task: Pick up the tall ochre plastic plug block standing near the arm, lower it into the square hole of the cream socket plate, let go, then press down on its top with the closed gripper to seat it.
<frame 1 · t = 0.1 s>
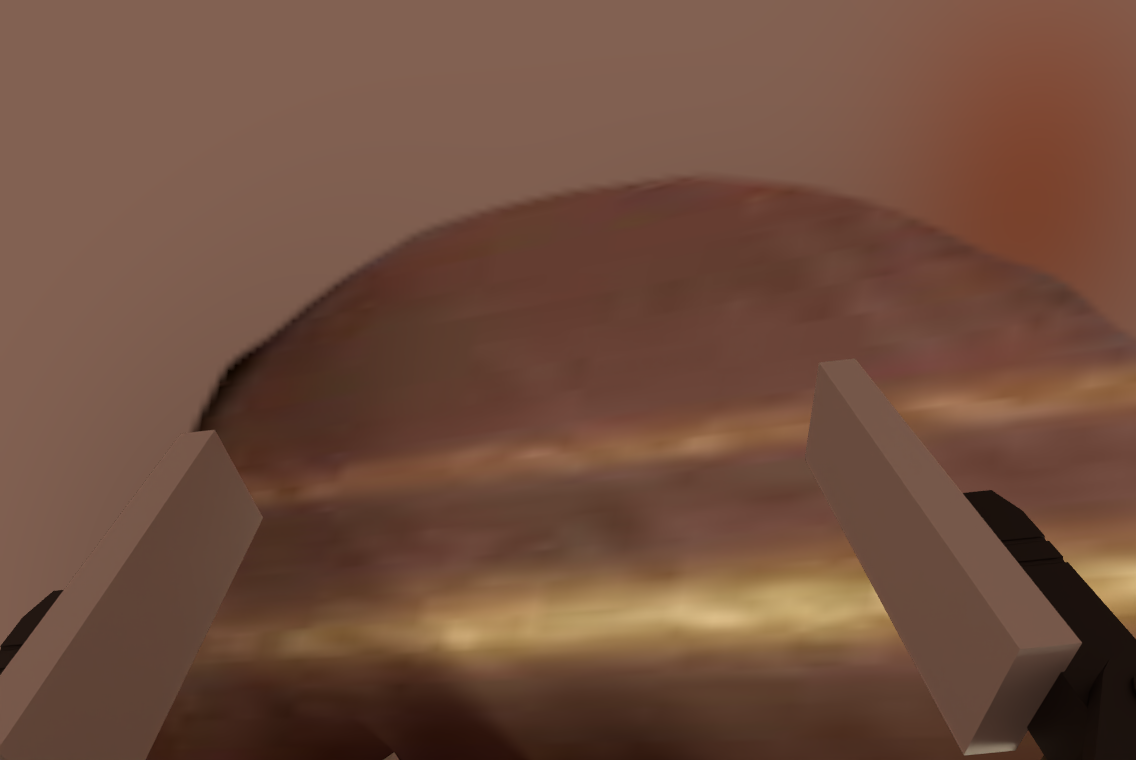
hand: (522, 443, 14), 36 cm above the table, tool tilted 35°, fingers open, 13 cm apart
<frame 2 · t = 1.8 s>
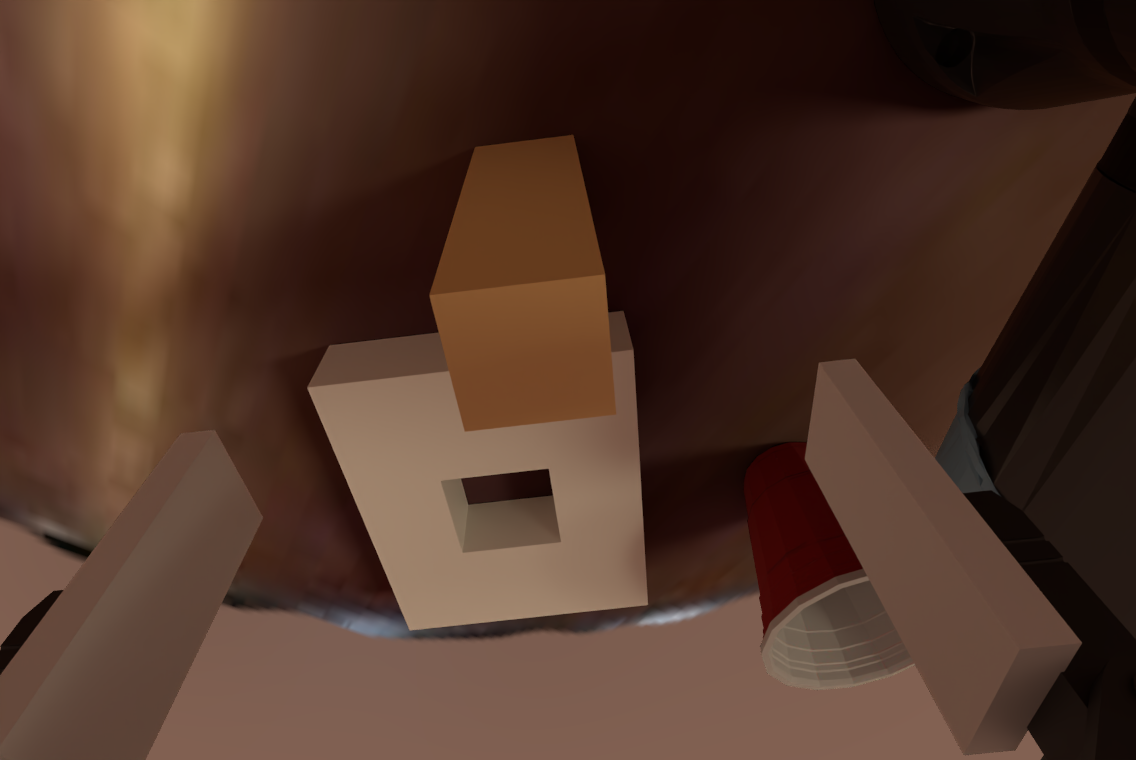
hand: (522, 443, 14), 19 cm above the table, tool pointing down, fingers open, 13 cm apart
plug block: (531, 190, 29), on the table
socket plate: (505, 465, 39), on the table
plastic cup: (788, 473, 41), on the table
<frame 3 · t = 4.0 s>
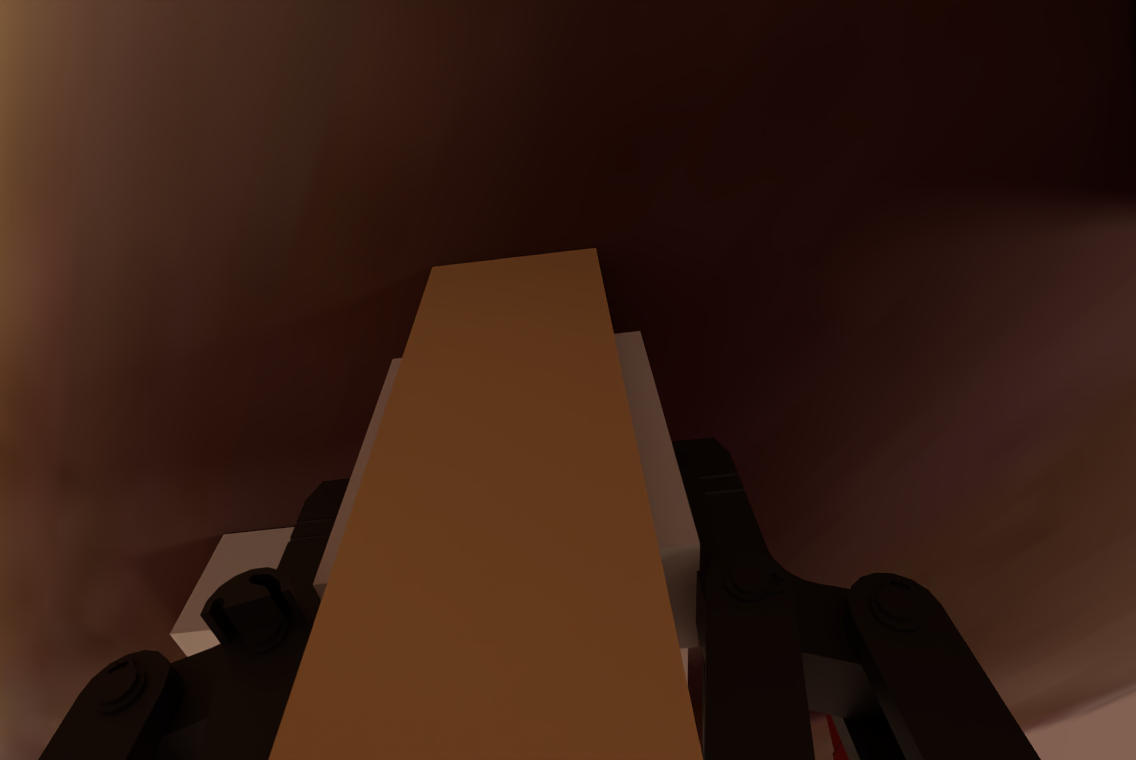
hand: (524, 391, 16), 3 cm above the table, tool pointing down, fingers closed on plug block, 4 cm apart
plug block: (525, 328, 18), on the table, touching gripper
socket plate: (491, 667, 28), on the table
plastic cup: (880, 667, 30), on the table
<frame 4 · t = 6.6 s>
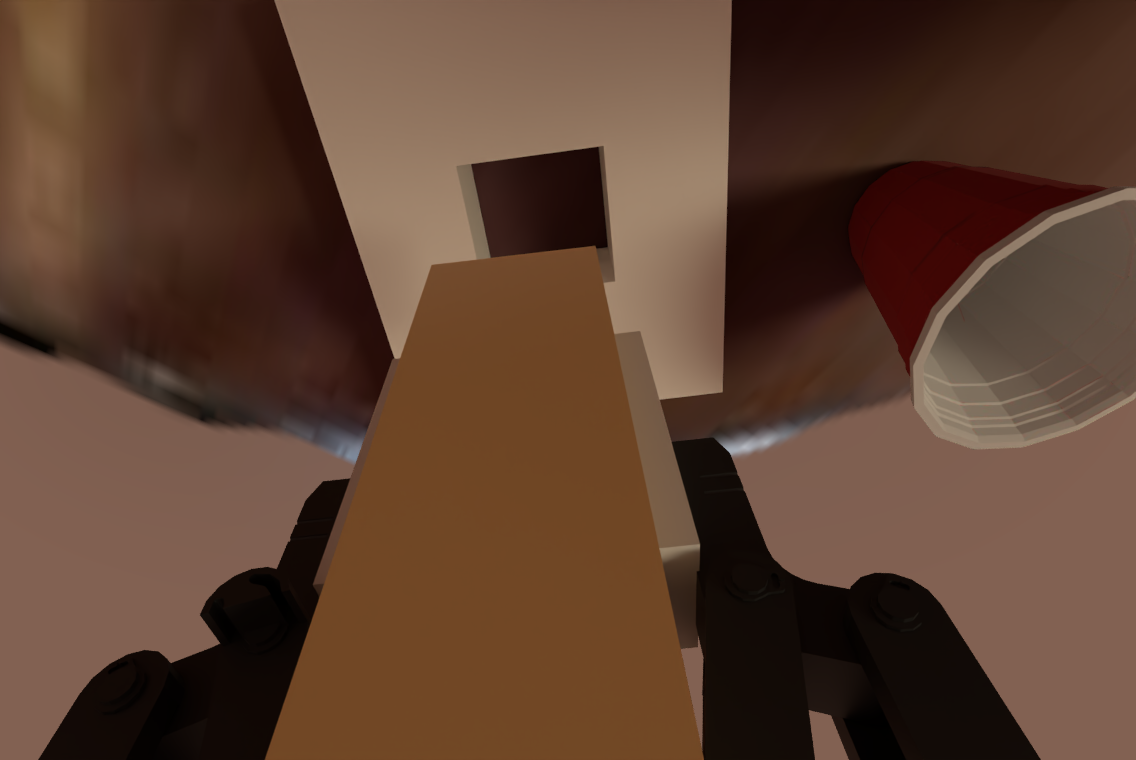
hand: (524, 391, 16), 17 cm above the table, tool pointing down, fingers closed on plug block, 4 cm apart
plug block: (525, 327, 18), point 14 cm above the table, touching gripper
socket plate: (540, 196, 30), on the table
plastic cup: (905, 218, 31), on the table
when the fingers open (5 cm above the table, at t = 9.4 s): plug block drops 2 cm, resting in socket plate.
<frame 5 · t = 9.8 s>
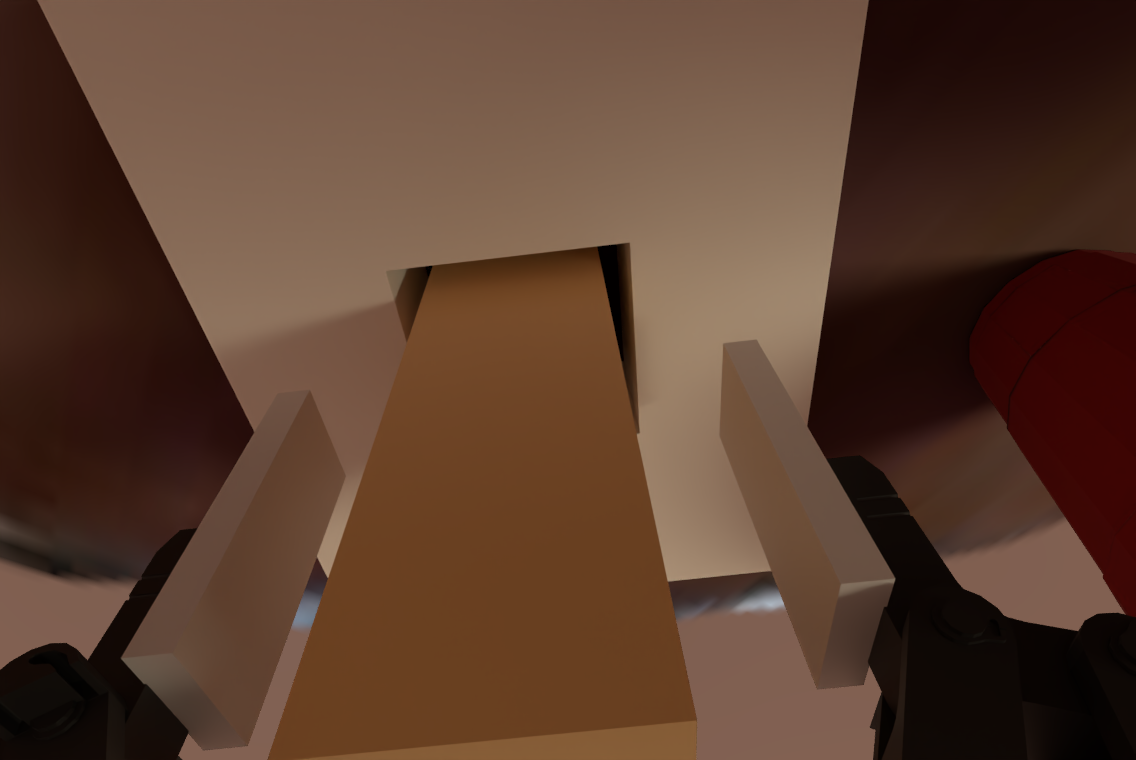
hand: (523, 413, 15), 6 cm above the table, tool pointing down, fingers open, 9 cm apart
plug block: (527, 291, 20), resting in socket plate
socket plate: (526, 293, 20), on the table
plastic cup: (1050, 325, 22), on the table
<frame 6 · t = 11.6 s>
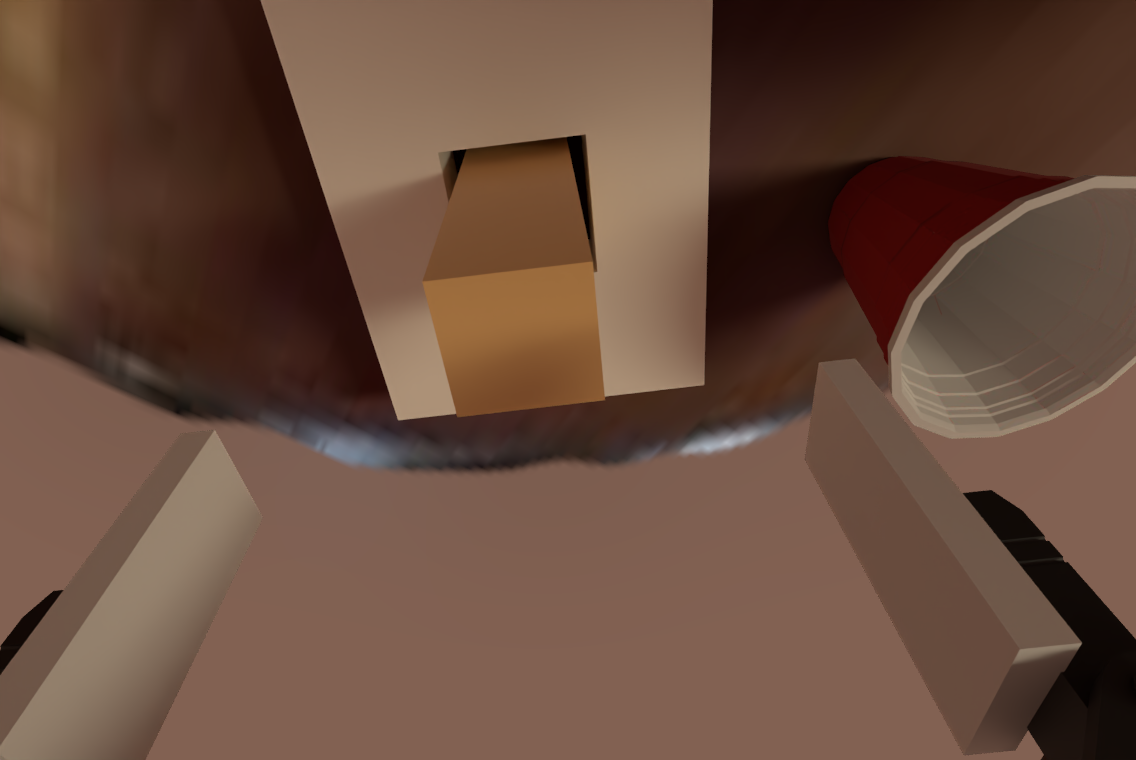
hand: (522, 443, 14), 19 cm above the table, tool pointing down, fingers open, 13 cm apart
plug block: (523, 186, 30), resting in socket plate
socket plate: (523, 187, 30), on the table
plastic cup: (884, 214, 32), on the table
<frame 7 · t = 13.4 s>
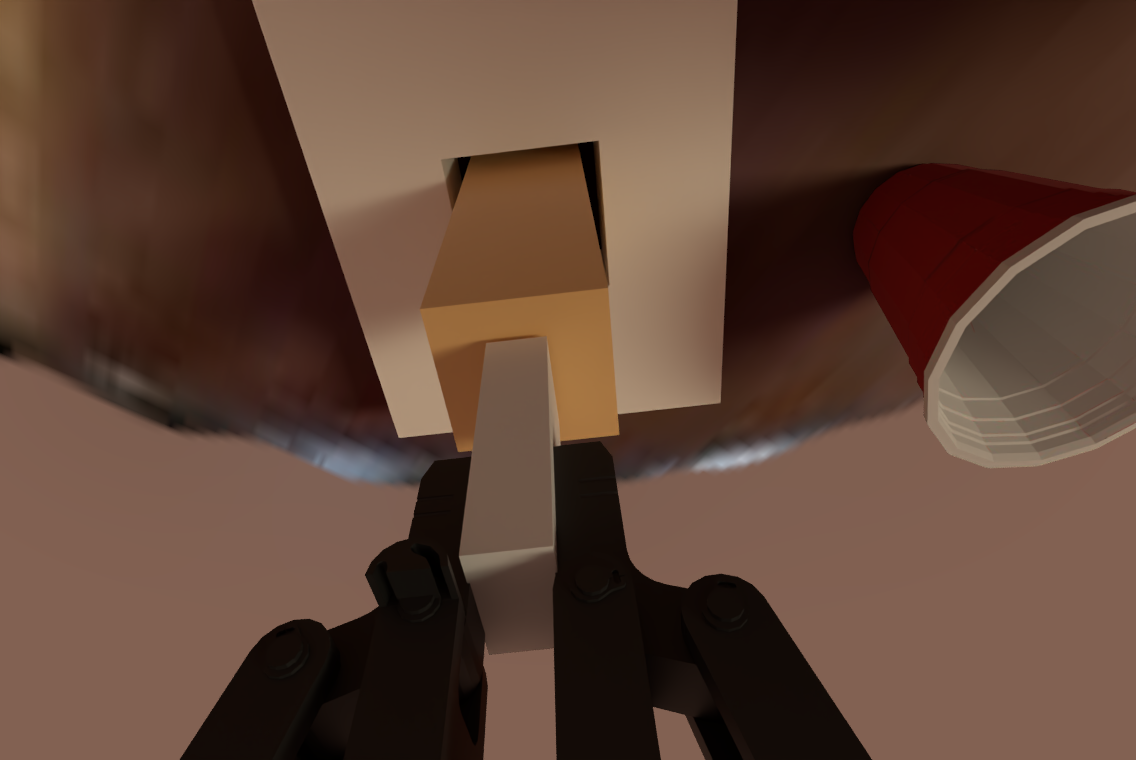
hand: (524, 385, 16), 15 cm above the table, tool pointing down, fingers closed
plug block: (531, 193, 28), resting in socket plate, touching gripper
socket plate: (531, 195, 28), on the table
plastic cup: (912, 224, 30), on the table
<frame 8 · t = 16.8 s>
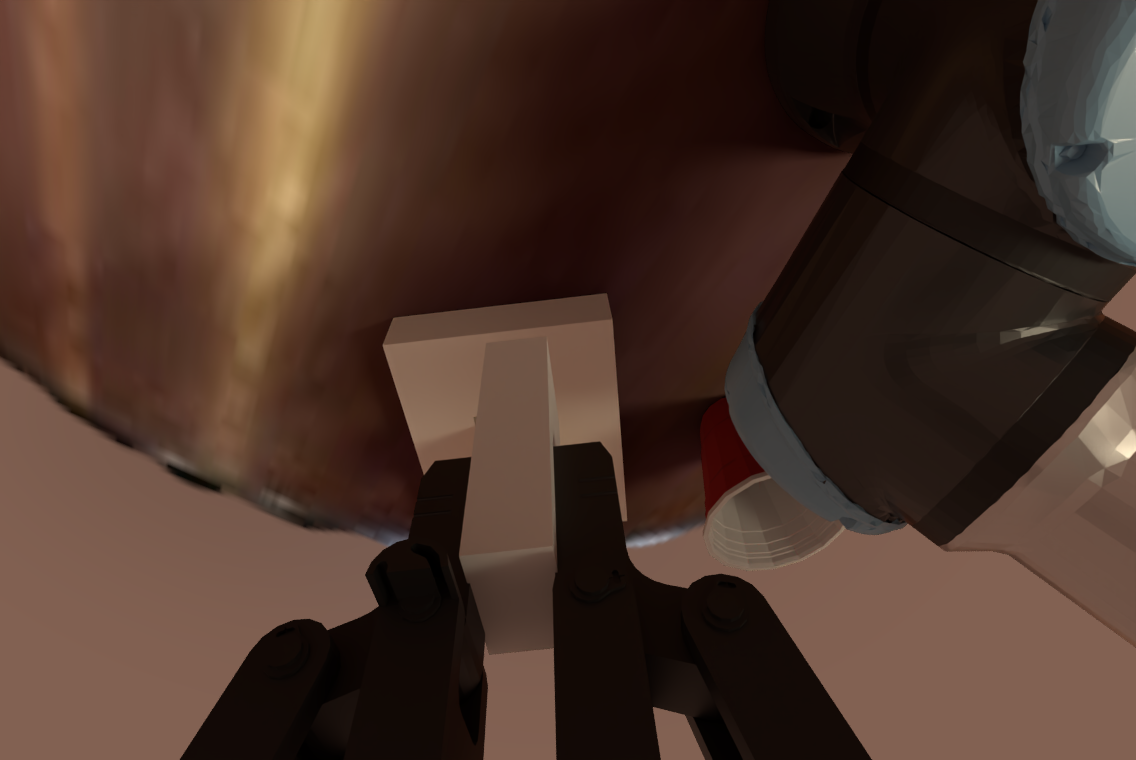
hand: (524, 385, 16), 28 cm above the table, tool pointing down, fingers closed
socket plate: (519, 411, 52), on the table
plastic cup: (734, 420, 54), on the table
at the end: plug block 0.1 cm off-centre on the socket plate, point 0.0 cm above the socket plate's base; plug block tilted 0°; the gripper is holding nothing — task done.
